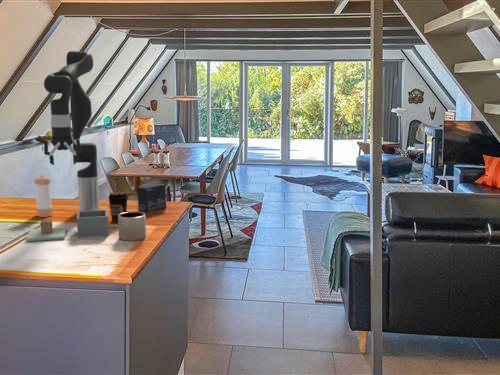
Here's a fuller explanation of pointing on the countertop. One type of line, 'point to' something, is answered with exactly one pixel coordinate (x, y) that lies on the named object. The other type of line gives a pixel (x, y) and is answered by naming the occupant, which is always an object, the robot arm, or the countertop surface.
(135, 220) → the planter
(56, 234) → the lid
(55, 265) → the countertop surface
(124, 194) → the coffee cup
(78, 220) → the bin
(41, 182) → the pepper shaker
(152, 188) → the small box
